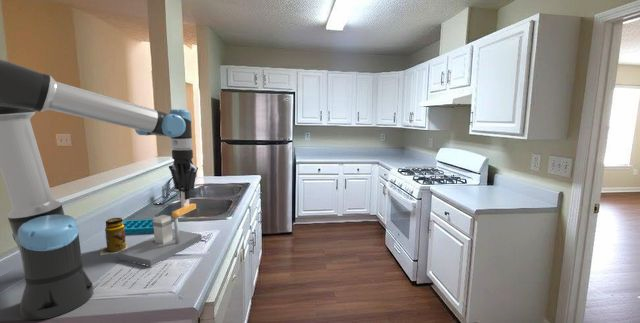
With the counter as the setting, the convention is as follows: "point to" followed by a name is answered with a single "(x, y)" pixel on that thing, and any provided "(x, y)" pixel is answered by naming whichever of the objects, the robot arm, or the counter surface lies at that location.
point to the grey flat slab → (158, 249)
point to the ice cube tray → (138, 226)
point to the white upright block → (162, 229)
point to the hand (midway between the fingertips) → (185, 206)
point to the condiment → (114, 236)
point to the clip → (178, 213)
